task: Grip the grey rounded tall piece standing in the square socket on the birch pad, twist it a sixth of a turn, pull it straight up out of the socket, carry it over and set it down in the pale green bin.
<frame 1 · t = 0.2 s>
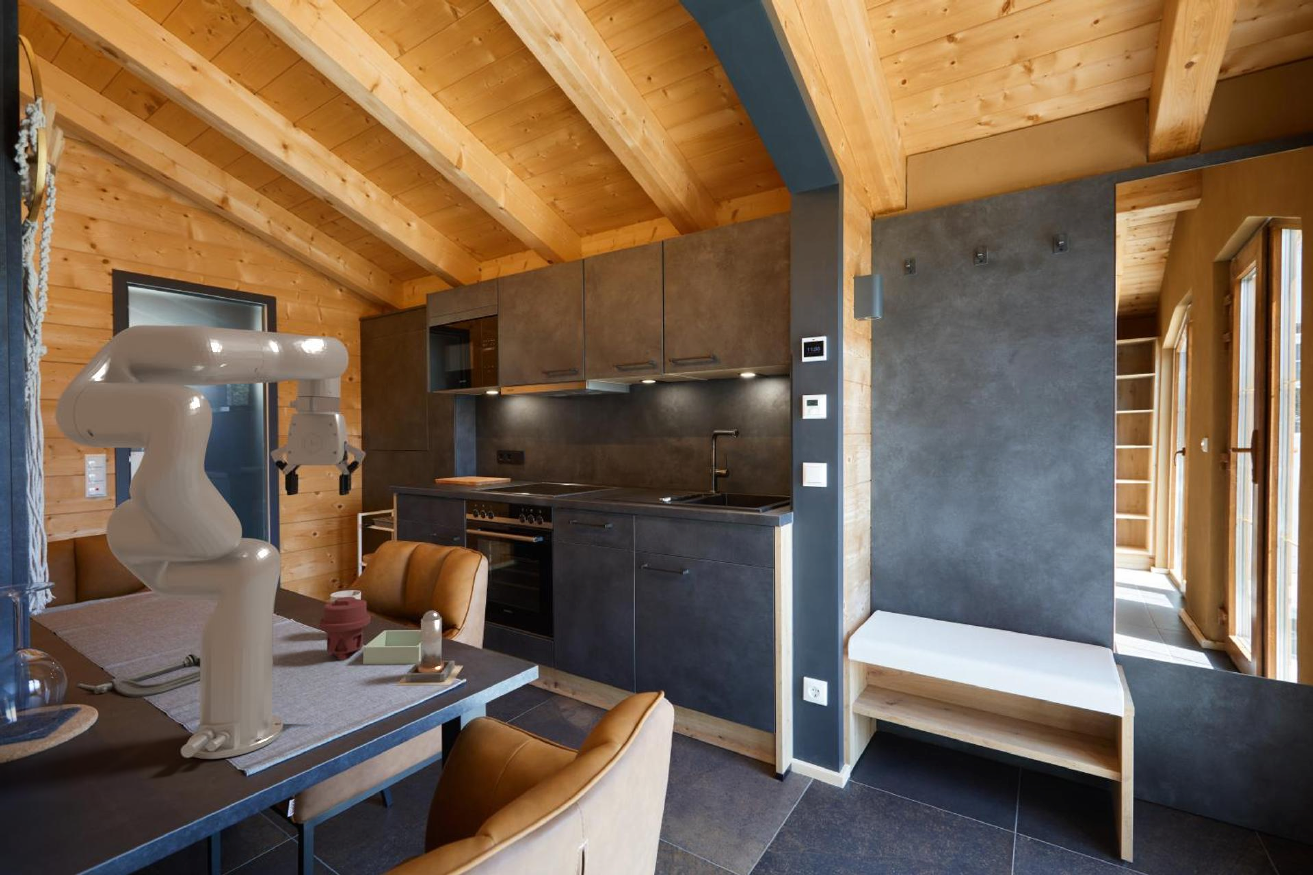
hand: (318, 494, 122), 36 cm above the table, tool pointing down, fingers open, 9 cm apart
socket pad: (430, 681, 122), on the table
mechanical component: (345, 656, 136), on the table
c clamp: (161, 681, 123), on the table
grey rounded tall piece: (430, 674, 122), point 1 cm above the table, touching socket pad
white cup: (345, 636, 150), on the table
bin: (400, 659, 134), on the table
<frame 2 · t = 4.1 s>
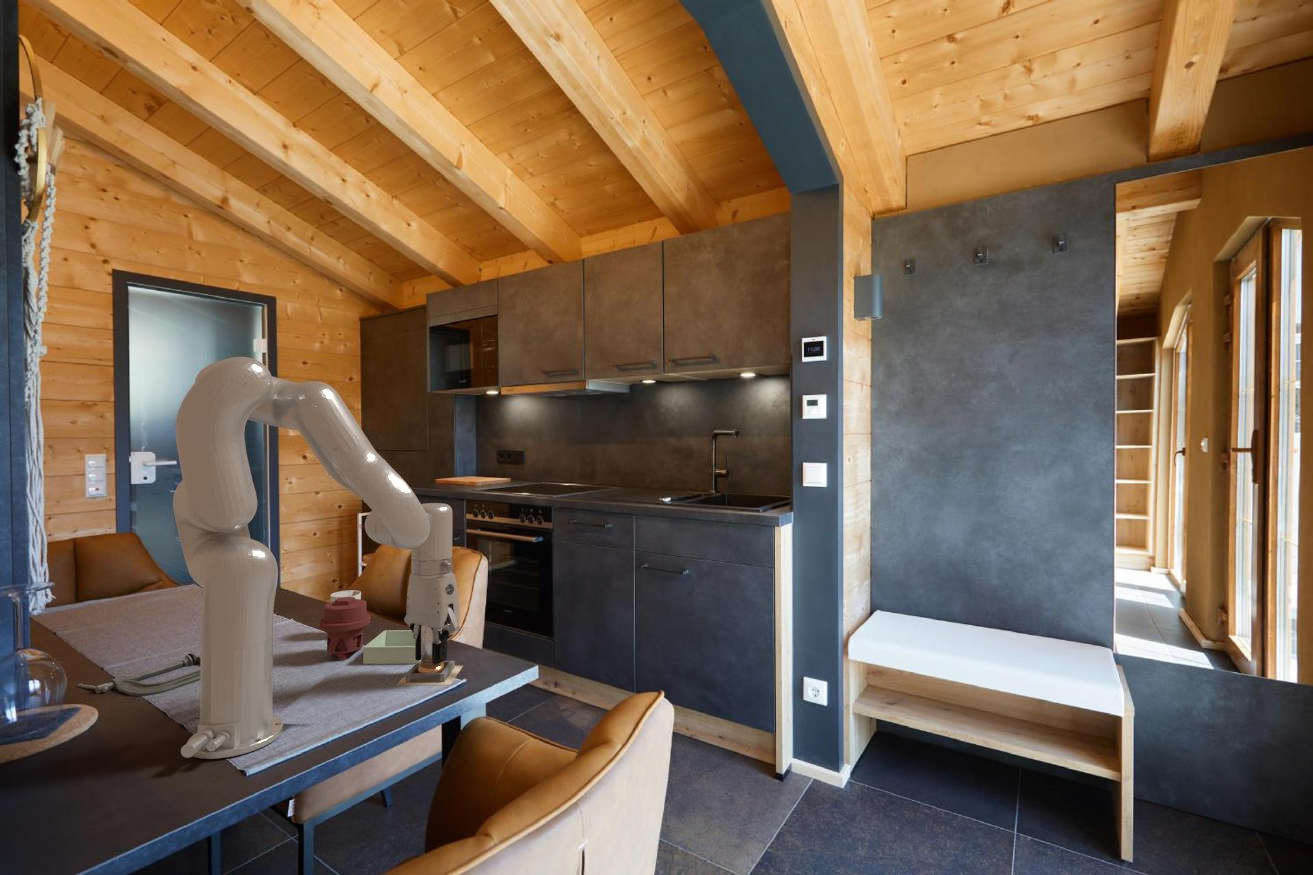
hand: (431, 659, 122), 4 cm above the table, tool pointing down, fingers closed on grey rounded tall piece, 3 cm apart
grey rounded tall piece: (430, 674, 122), point 1 cm above the table, touching gripper, socket pad
everything else where it was.
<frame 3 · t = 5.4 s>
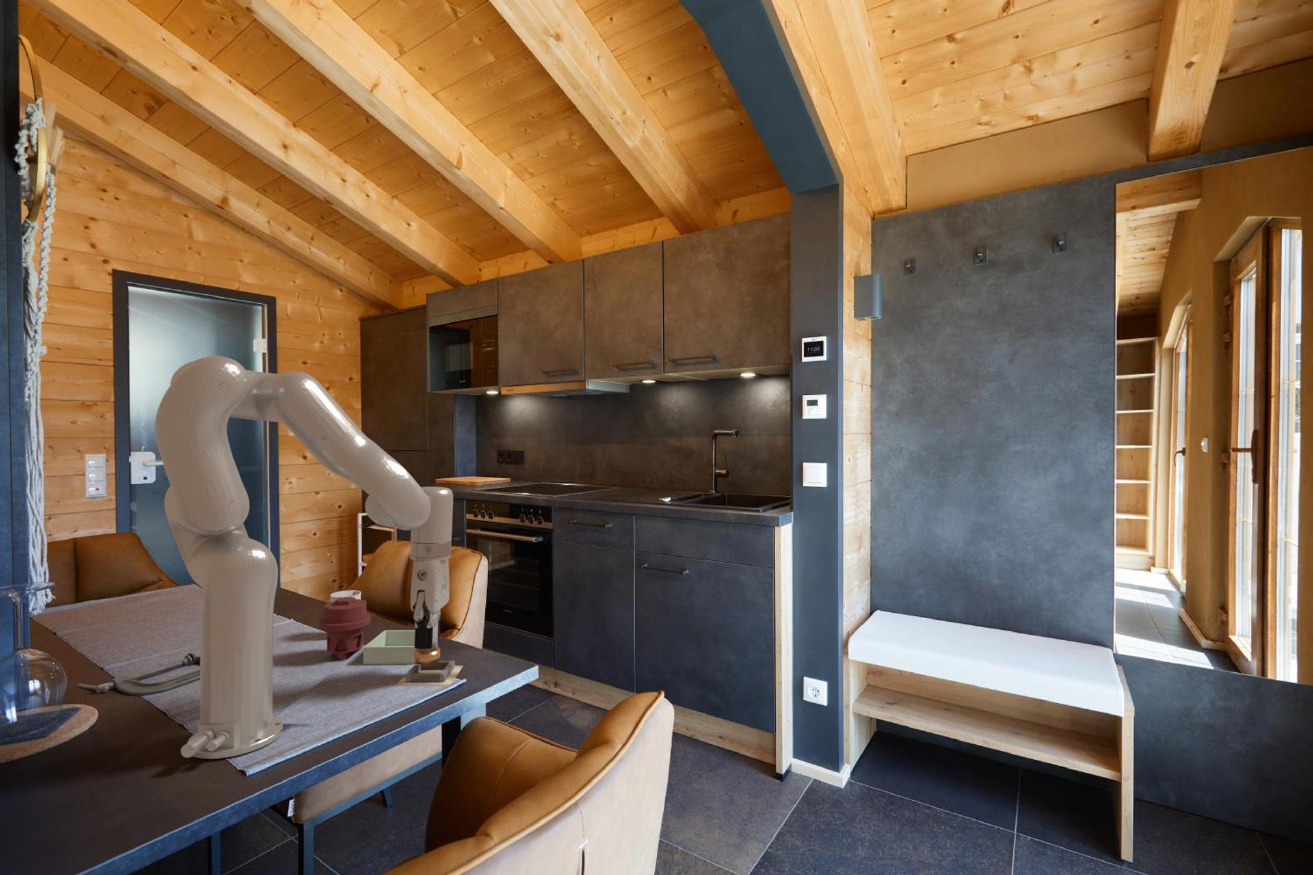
hand: (427, 643, 122), 8 cm above the table, tool pointing down, fingers closed on grey rounded tall piece, 3 cm apart
grey rounded tall piece: (426, 660, 122), point 4 cm above the table, touching gripper
everything else where it was.
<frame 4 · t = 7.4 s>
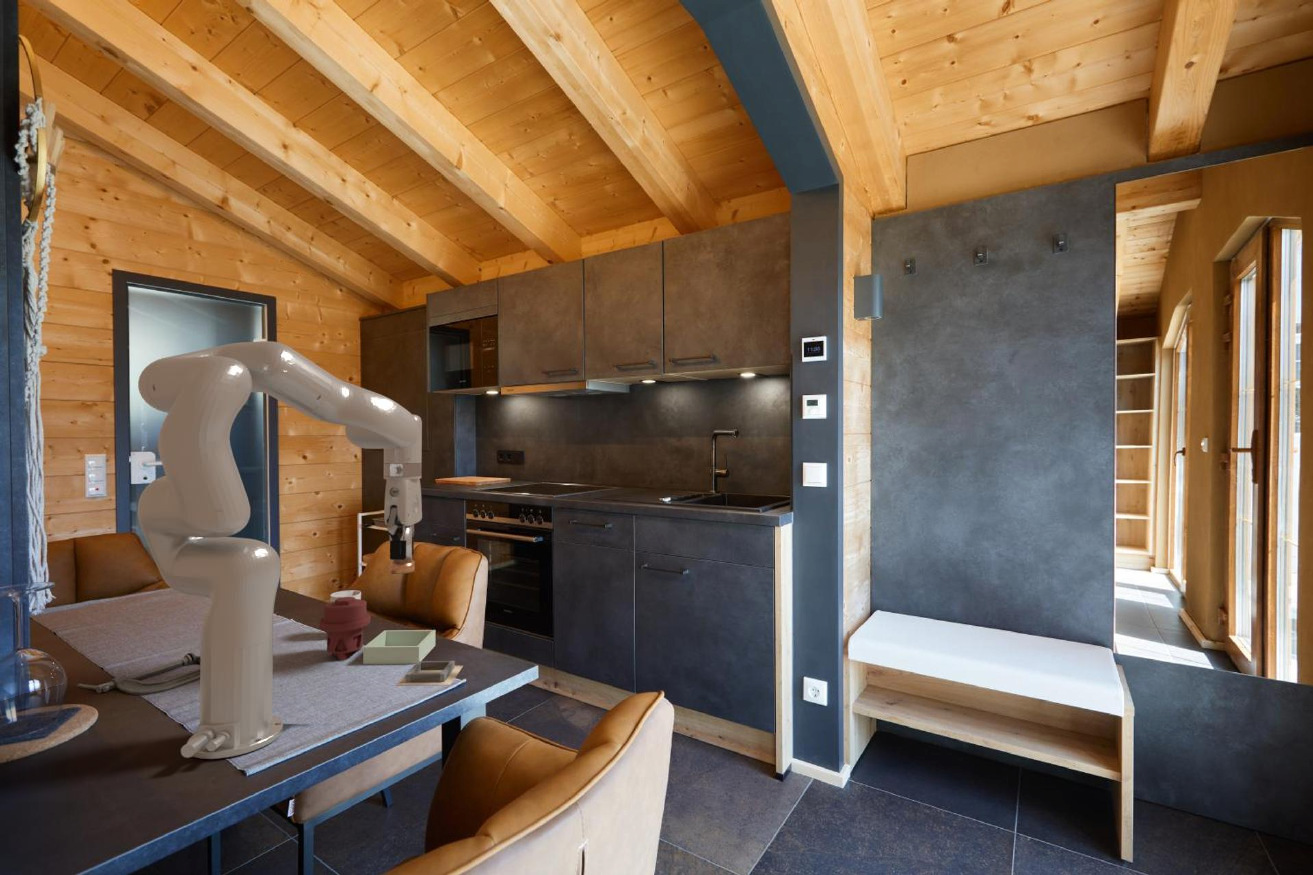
hand: (402, 556, 134), 22 cm above the table, tool pointing down, fingers closed on grey rounded tall piece, 3 cm apart
grey rounded tall piece: (402, 571, 134), point 19 cm above the table, touching gripper
everything else where it was.
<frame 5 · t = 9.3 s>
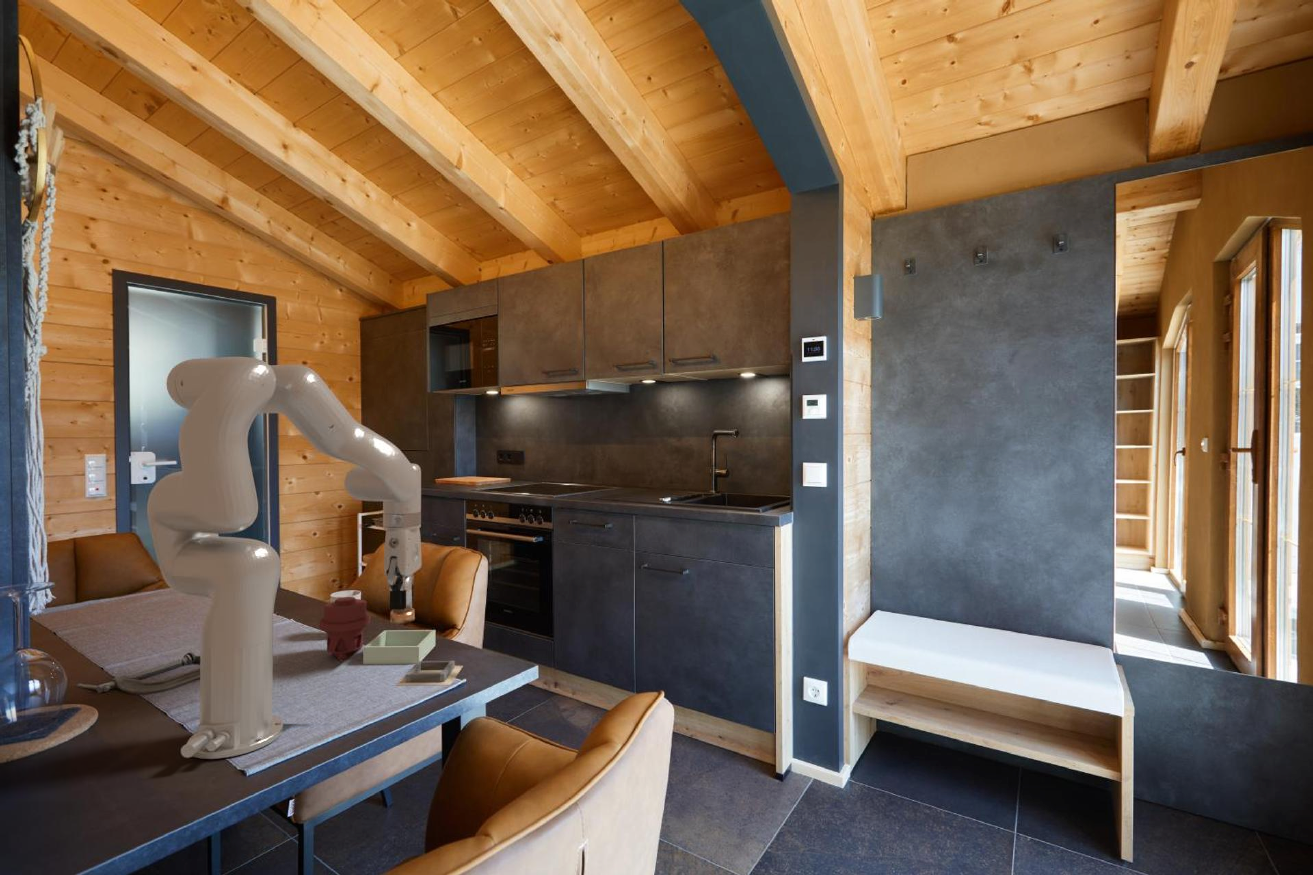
hand: (401, 605, 134), 12 cm above the table, tool pointing down, fingers closed on grey rounded tall piece, 3 cm apart
grey rounded tall piece: (402, 620, 134), point 8 cm above the table, touching gripper
when the fingers open (6 cm above the table, at t = 10.8 s): grey rounded tall piece drops 2 cm, resting on bin.
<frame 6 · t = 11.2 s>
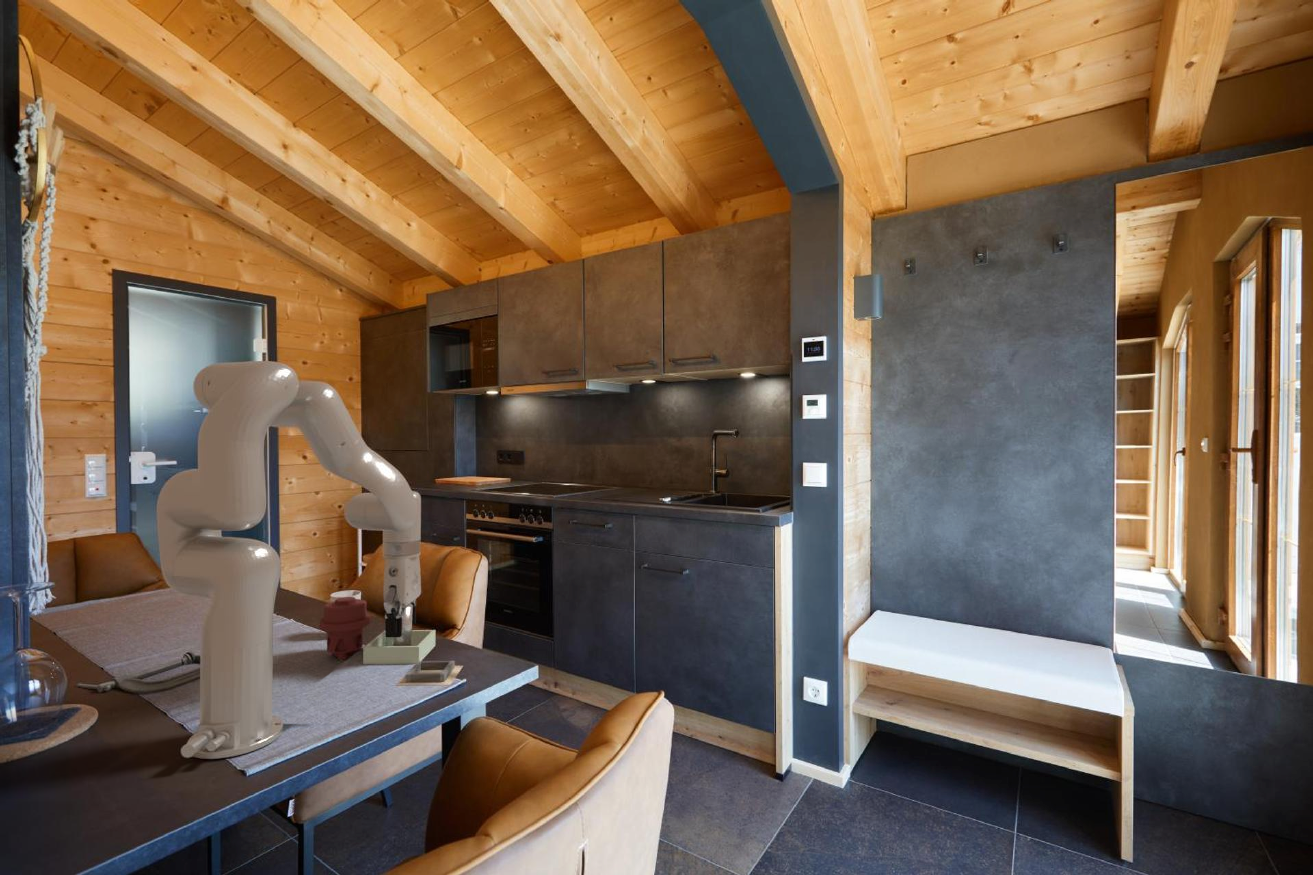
hand: (401, 630, 134), 6 cm above the table, tool pointing down, fingers open, 8 cm apart
grey rounded tall piece: (401, 656, 134), point 1 cm above the table, touching bin
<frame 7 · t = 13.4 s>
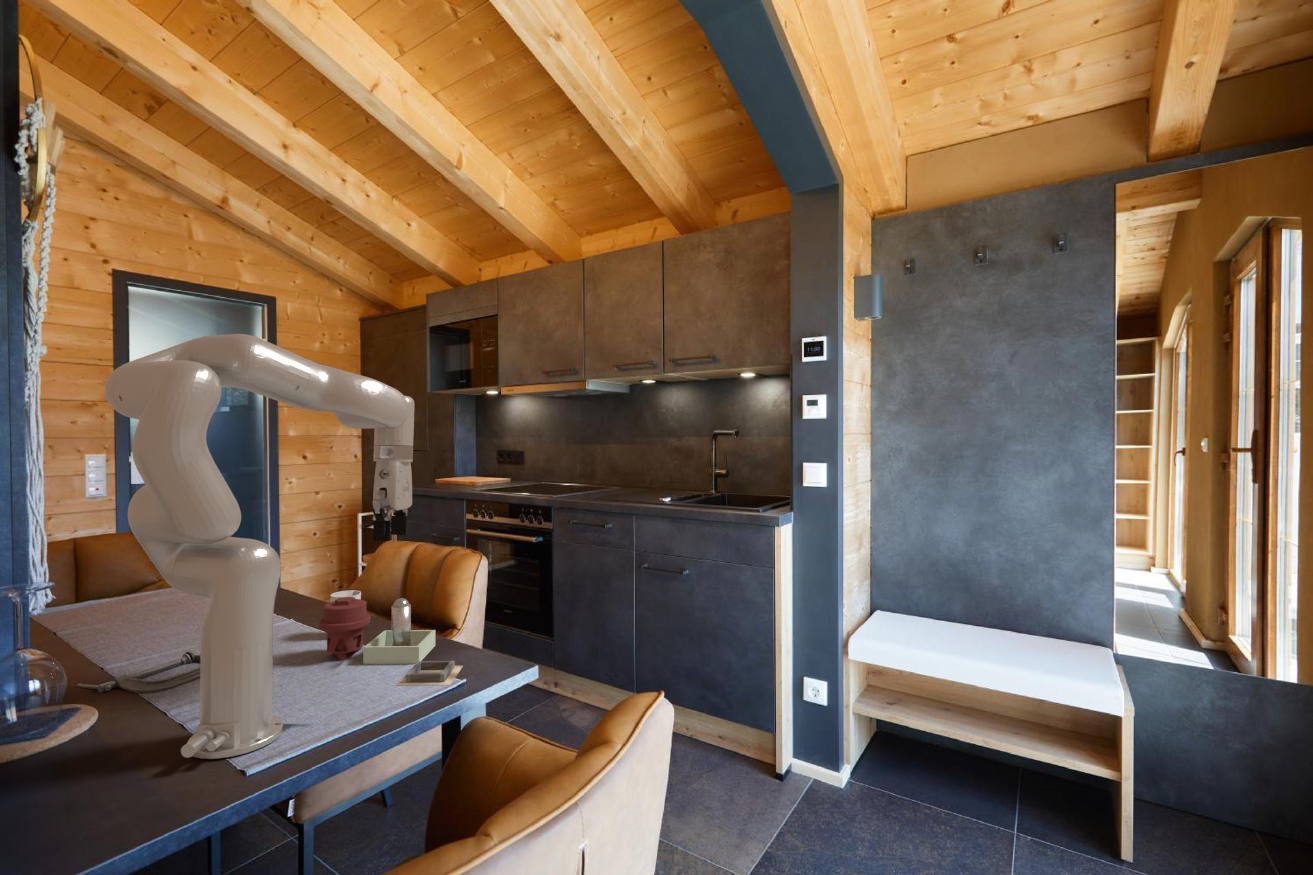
hand: (390, 537, 129), 27 cm above the table, tool pointing down, fingers open, 9 cm apart
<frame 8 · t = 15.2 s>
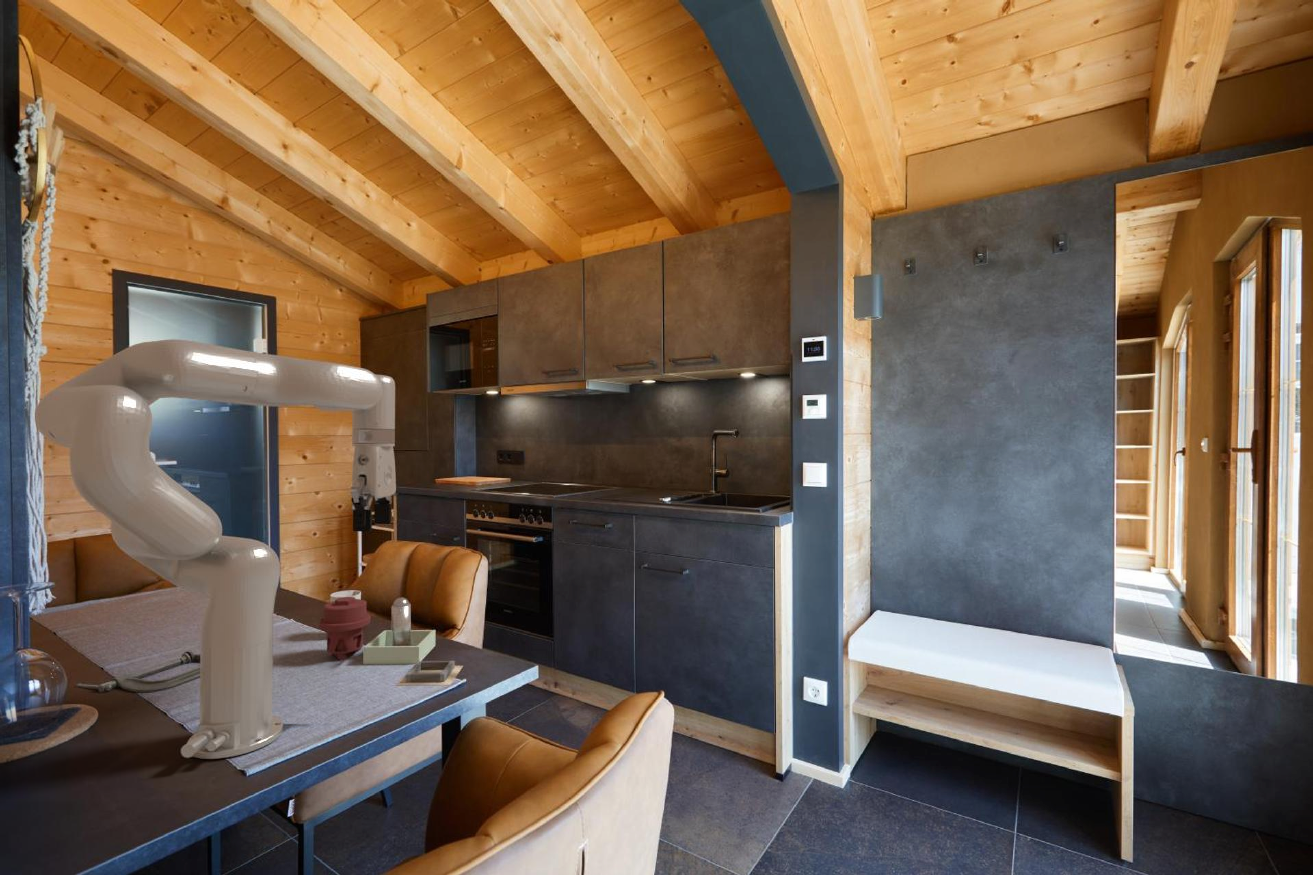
hand: (372, 527, 121), 30 cm above the table, tool pointing down, fingers open, 9 cm apart
at the end: grey rounded tall piece inside the target area on the bin (0.1 cm from its centre), point 0.7 cm above the bin's base; the gripper is holding nothing; grey rounded tall piece moved 15.5 cm from its start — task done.
